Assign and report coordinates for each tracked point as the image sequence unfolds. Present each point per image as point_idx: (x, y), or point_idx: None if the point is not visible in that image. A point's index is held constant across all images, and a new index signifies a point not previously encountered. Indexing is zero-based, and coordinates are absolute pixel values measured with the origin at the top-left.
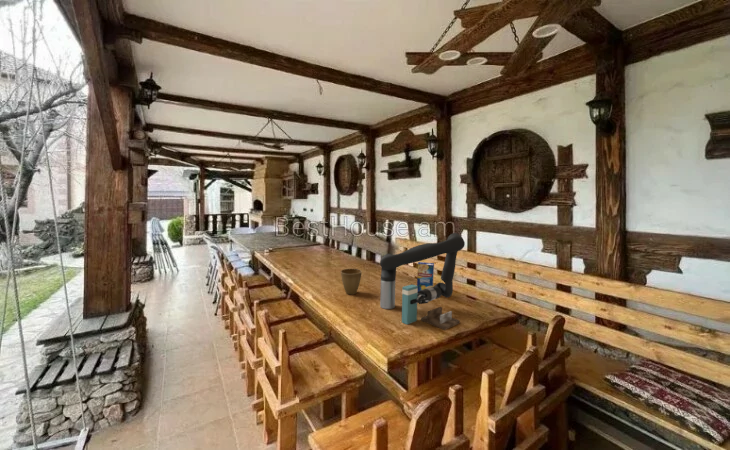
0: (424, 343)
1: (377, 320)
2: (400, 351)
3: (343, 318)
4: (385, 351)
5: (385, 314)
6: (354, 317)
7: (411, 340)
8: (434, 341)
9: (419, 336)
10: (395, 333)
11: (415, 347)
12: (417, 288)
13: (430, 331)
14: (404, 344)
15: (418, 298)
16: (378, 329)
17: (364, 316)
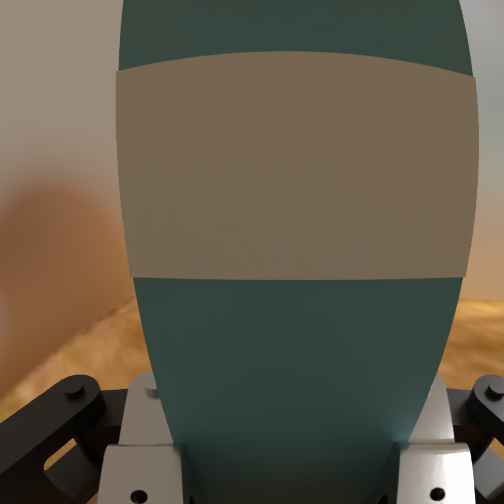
0: (67, 352)
1: None
2: (135, 295)
3: (475, 300)
4: None
5: (497, 444)
6: (480, 323)
7: (123, 346)
8: (27, 378)
9: None
10: None
11: (95, 323)
12: (121, 81)
13: (50, 460)
14: (139, 319)
15: (124, 421)
16: None
17: (486, 351)
